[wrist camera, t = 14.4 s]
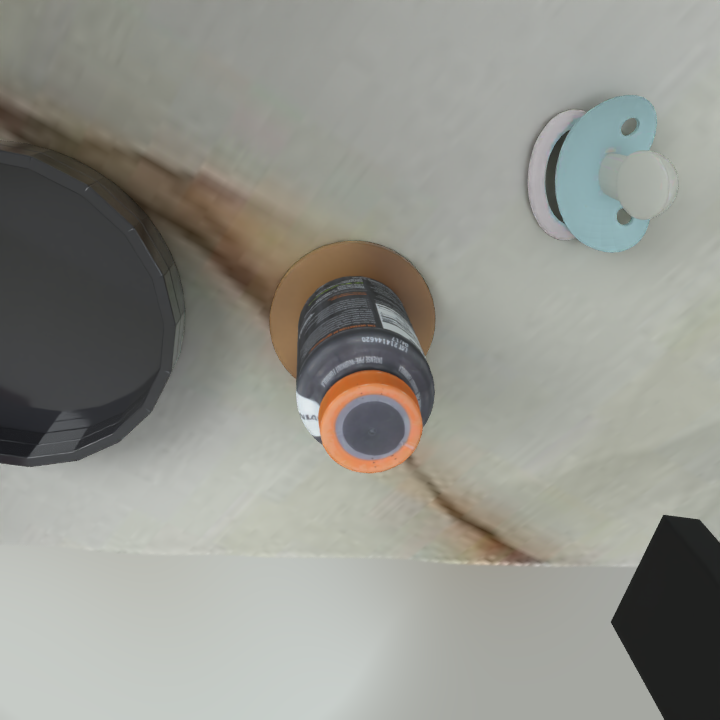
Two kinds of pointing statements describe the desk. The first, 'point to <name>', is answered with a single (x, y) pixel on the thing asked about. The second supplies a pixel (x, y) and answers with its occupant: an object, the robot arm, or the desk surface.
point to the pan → (78, 309)
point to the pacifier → (602, 175)
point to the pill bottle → (361, 375)
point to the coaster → (343, 263)
